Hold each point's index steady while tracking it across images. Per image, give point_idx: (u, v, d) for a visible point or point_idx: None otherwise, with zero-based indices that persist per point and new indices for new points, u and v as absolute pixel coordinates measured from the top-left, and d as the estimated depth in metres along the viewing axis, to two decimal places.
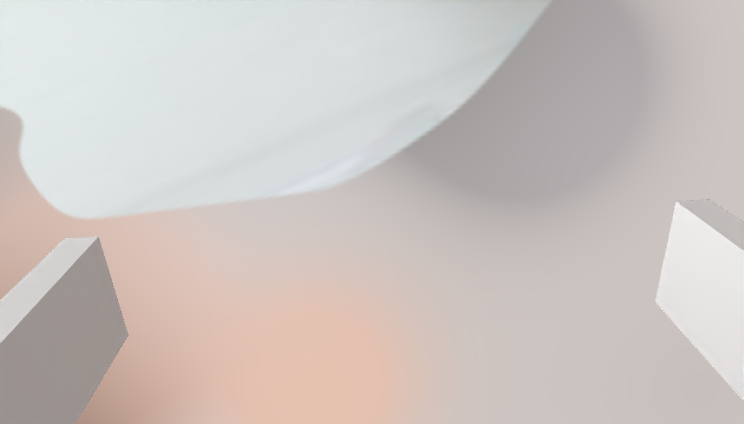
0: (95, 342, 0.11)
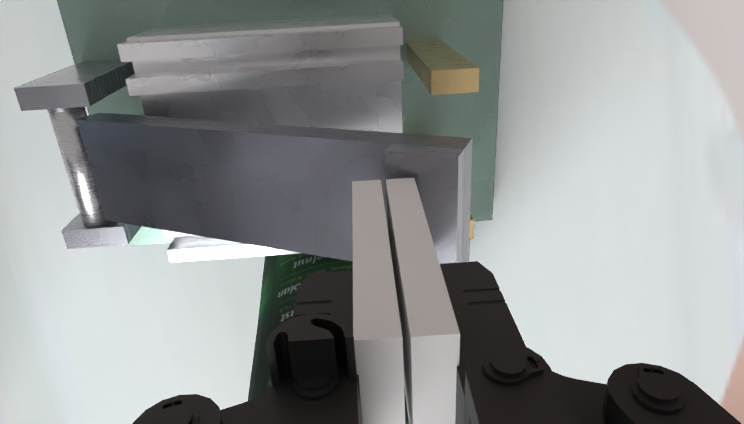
0: None
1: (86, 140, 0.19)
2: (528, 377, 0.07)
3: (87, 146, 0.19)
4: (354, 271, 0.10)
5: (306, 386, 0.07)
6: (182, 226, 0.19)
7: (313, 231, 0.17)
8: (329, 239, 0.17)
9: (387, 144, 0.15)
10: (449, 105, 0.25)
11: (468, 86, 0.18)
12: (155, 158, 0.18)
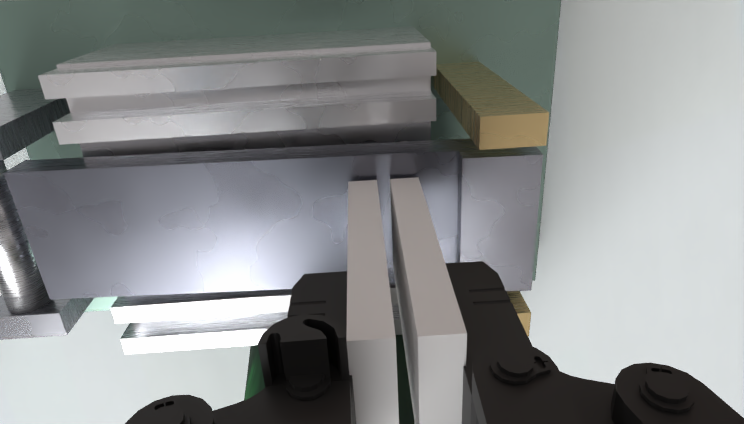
0: None
1: (20, 199, 0.14)
2: (535, 377, 0.07)
3: (21, 206, 0.14)
4: (348, 271, 0.10)
5: (298, 387, 0.07)
6: (175, 285, 0.16)
7: None
8: None
9: (453, 152, 0.14)
10: None
11: (532, 137, 0.13)
12: (137, 207, 0.14)
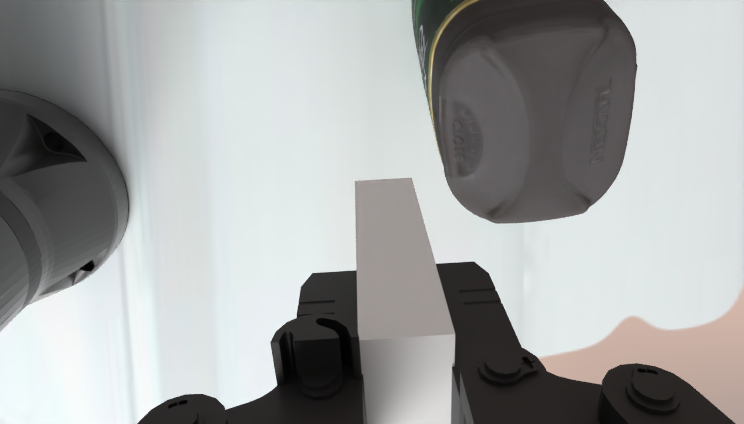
0: None
1: None
2: (523, 377, 0.07)
3: None
4: (358, 271, 0.10)
5: (311, 385, 0.07)
6: None
7: None
8: None
9: None
10: None
11: None
12: None
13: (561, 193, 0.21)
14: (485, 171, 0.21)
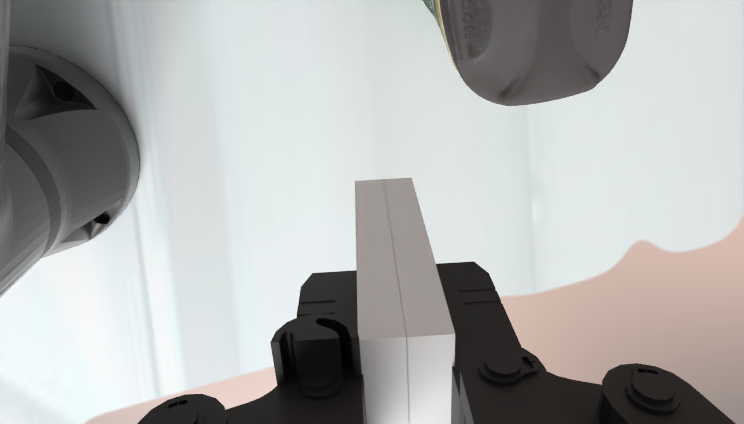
0: None
1: None
2: (523, 377, 0.07)
3: None
4: (358, 271, 0.10)
5: (311, 386, 0.07)
6: None
7: None
8: None
9: None
10: None
11: None
12: None
13: (570, 66, 0.22)
14: (495, 48, 0.22)
